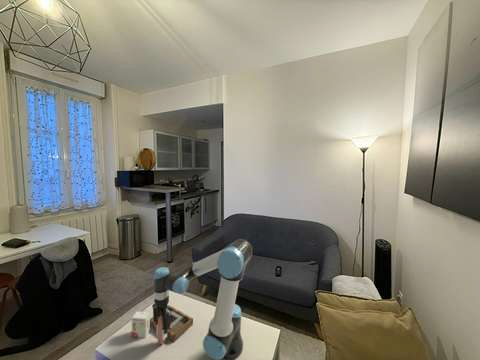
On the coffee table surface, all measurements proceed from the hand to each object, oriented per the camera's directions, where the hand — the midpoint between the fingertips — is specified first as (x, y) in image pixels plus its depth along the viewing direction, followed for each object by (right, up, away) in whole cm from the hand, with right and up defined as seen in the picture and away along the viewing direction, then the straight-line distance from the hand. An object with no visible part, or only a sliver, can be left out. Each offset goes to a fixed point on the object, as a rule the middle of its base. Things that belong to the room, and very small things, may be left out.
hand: (161, 336), depth 111 cm
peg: (0, -3, 0) cm, 3 cm away
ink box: (-15, -3, +6) cm, 16 cm away
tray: (+1, -3, +13) cm, 13 cm away
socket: (+1, -3, +13) cm, 13 cm away
